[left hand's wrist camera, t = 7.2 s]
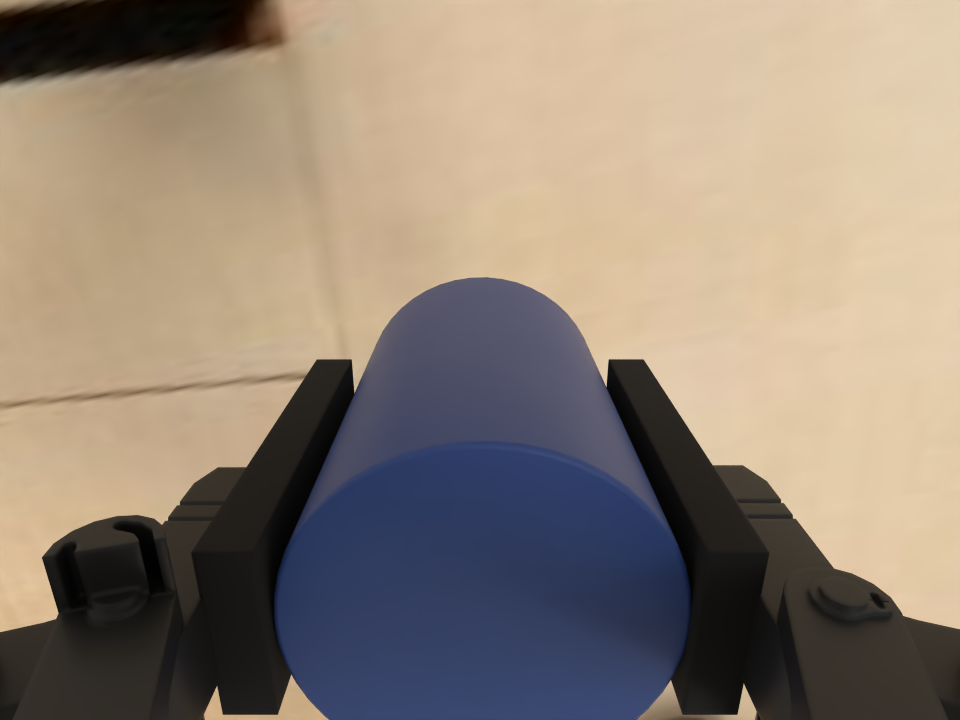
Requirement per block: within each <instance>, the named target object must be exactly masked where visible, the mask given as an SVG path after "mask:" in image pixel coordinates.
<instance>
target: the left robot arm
mask: <svg viewBox="0 0 960 720" xmlns="http://www.w3.org/2000/svg"><path fill="white" fill-rule="evenodd" d="M607 390H608V392H609V394H610V397H611V399H612V401H613V403H614V405H615V408H616V410H617V412H618V414H619V416H620V419H621V421H622V423H623V425H624V427H625V430H626V432H627V434H628V436H629V438H630V441H631V443H632V445H633V447H634V449H635V452H636V454H637V456H638V458H639V460H640V463H641V465H642V467H643V469H644V471H645V474H646V476H647V478H648V480H649V482H650V484H651V487H652V489H653V491H654V493H655V495H656V498H657V500H658V502H659V504H660V506H661V509H662V511H663V513H664V515H665V517H666V520H667V522H668V524H669V526H670V528H671V531H672V533H673V535H674V537H675V539H676V542H677V544H678V546H679V549H680V551H681V554H682V556H683V559H684V561H685V563H686V566H687V571H688V575H689V580H690V584H691V594H692V609H691V617H690V624H689V631H688V637H687V643H686V647H685V651H684V654H683V656H682V659H681V661H680V663H679V665H678V667H677V669H676V672H675V674H674V675H673V677H672V678H671V681H672V684H673V687H674V690H675V693H676V696H677V699H678V702H679V705H680V708H681V711H682V714H683V715H737V714H738V709H739V704H740V699H741V694H742V689H743V684H744V685H745V687H746V689H747V691H748V693H749V695H750V698H751V700H752V702H753V704H754V706H755V709H756V711H757V713H756V718H755V720H960V629H955V628H951V627H946V626H942V625H937V624H933V623H928V622H923V621H919V620H915V619H912V618H908V617H905V616H903V615H902V613H901V611H900V610H899V608H898V607H897V606H896V604H895V603H894V601H893V600H892V599H891V597H889V596H888V595H887V594H886V593H884V592H883V591H882V590H880V589H879V588H878V587H877V586H875V585H874V584H872V583H870V582H868V581H866V580H864V579H862V578H860V577H858V576H856V575H854V574H852V573H848V572H844V571H841V570H837V569H834V568H833V567H832V565H831V564H830V563H829V561H828V560H827V559H826V558H825V556H824V555H823V554H822V552H821V551H820V550H819V548H818V547H817V546H816V545H815V543H814V542H813V541H812V539H811V538H810V537H809V535H808V534H807V533H806V532H805V530H804V529H803V528H802V526H801V525H800V524H799V523H798V521H797V520H796V519H793V515H792V513H791V512H790V511H789V510H788V508H787V507H786V506H785V504H784V503H781V499H780V498H779V497H778V495H777V494H776V493H775V491H774V490H773V489H772V487H771V486H770V485H769V484H768V482H767V481H766V480H764V479H763V478H761V477H760V476H758V475H757V474H755V473H753V472H752V471H750V470H749V469H747V468H746V467H744V466H743V465H712V464H711V462H710V461H709V459H708V458H707V456H706V454H705V453H704V451H703V450H702V448H701V447H700V445H699V444H698V442H697V441H696V439H695V438H694V436H693V435H692V433H691V432H690V430H689V428H688V427H687V425H686V424H685V422H684V421H683V419H682V418H681V416H680V415H679V413H678V412H677V410H676V409H675V407H674V405H673V404H672V402H671V401H670V399H669V398H668V396H667V395H666V393H665V392H664V390H663V389H662V387H661V386H660V384H659V383H658V381H657V379H656V378H655V376H654V375H653V373H652V372H651V370H650V369H649V367H648V366H647V364H646V363H645V361H644V360H609V363H608V376H607ZM353 396H354V384H353V371H352V360H316V362H315V363H314V365H313V366H312V368H311V369H310V371H309V372H308V374H307V375H306V377H305V379H304V380H303V382H302V383H301V385H300V386H299V388H298V389H297V391H296V392H295V394H294V395H293V397H292V398H291V400H290V402H289V403H288V405H287V406H286V408H285V409H284V411H283V412H282V414H281V415H280V417H279V418H278V420H277V421H276V423H275V425H274V426H273V428H272V429H271V431H270V432H269V434H268V435H267V437H266V438H265V440H264V441H263V443H262V444H261V446H260V448H259V449H258V451H257V452H256V454H255V455H254V457H253V458H252V460H251V461H250V463H249V464H248V466H247V467H218V468H216V469H215V470H213V471H212V472H210V473H209V474H207V475H206V476H204V477H203V478H201V479H200V480H198V481H197V482H195V483H194V484H193V485H192V487H191V488H190V489H189V491H188V492H187V493H186V495H185V496H184V497H183V499H182V500H181V501H180V505H177V506H176V508H175V509H174V510H173V512H172V513H171V514H170V516H169V517H168V521H165V522H164V523H163V525H161V524H160V523H159V522H157V521H156V520H155V519H153V518H148V517H144V516H139V515H132V516H116V517H112V518H108V519H104V520H100V521H95V522H93V523H90V524H88V525H86V526H83V527H81V528H79V529H76V530H74V531H72V532H70V533H69V534H67V535H66V536H64V537H63V538H61V539H60V540H58V541H57V542H55V543H54V544H53V545H52V546H51V547H50V549H49V550H48V551H47V552H46V553H45V555H44V556H43V557H42V559H43V563H44V566H45V569H46V573H47V576H48V579H49V582H50V586H51V589H52V592H53V596H54V599H55V602H56V606H57V609H58V612H59V614H58V616H57V618H56V619H55V620H52V621H48V622H45V623H41V624H36V625H31V626H27V627H22V628H18V629H13V630H9V631H4V632H0V720H205V718H204V713H205V711H206V708H207V706H208V704H209V702H210V700H211V698H212V695H213V693H214V691H215V689H216V687H218V692H219V697H220V702H221V707H222V712H223V715H278V712H279V709H280V706H281V703H282V700H283V697H284V694H285V691H286V688H287V685H288V682H289V679H290V676H291V672H290V670H289V668H288V667H287V665H286V663H285V660H284V657H283V654H282V652H281V649H280V646H279V643H278V638H277V633H276V627H275V622H274V591H275V584H276V577H277V573H278V570H279V567H280V564H281V561H282V558H283V555H284V552H285V550H286V548H287V545H288V543H289V541H290V539H291V536H292V534H293V532H294V530H295V527H296V525H297V523H298V520H299V518H300V516H301V514H302V511H303V509H304V507H305V505H306V502H307V500H308V498H309V496H310V493H311V491H312V489H313V487H314V484H315V482H316V480H317V477H318V475H319V473H320V471H321V468H322V466H323V464H324V462H325V459H326V457H327V455H328V453H329V450H330V448H331V446H332V444H333V441H334V439H335V437H336V435H337V432H338V430H339V428H340V425H341V423H342V421H343V419H344V416H345V414H346V412H347V410H348V407H349V405H350V403H351V401H352V398H353Z"/></svg>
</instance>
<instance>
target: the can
mask: <svg viewBox="0 0 960 720" xmlns="http://www.w3.org/2000/svg"><path fill="white" fill-rule="evenodd" d="M691 609H692V594H691V584H690V580H689V575H688V571H687V566H686V563H685V561H684V559H683V556H682V554H681V551H680V549H679V546H678V544H677V542H676V539H675V537H674V535H673V533H672V531H671V528H670V526H669V524H668V522H667V520H666V517H665V515H664V513H663V511H662V509H661V506H660V504H659V502H658V500H657V498H656V495H655V493H654V491H653V489H652V487H651V484H650V482H649V480H648V478H647V476H646V474H645V471H644V469H643V467H642V465H641V463H640V460H639V458H638V456H637V454H636V452H635V449H634V447H633V445H632V443H631V441H630V438H629V436H628V434H627V432H626V430H625V427H624V425H623V423H622V421H621V419H620V416H619V414H618V412H617V410H616V408H615V405H614V403H613V401H612V399H611V397H610V394H609V392H608V390H607V388H606V386H605V383H604V381H603V379H602V377H601V375H600V372H599V370H598V368H597V366H596V364H595V361H594V359H593V357H592V355H591V353H590V350H589V348H588V346H587V344H586V342H585V339H584V337H583V336H582V334H581V332H580V331H579V329H578V327H577V325H576V324H575V323H574V322H573V320H572V319H571V318H570V317H569V315H568V314H567V313H566V312H565V311H564V310H563V309H562V308H561V307H559V306H558V305H557V304H556V303H555V302H553V301H552V300H551V299H549V298H548V297H546V296H545V295H543V294H541V293H540V292H538V291H536V290H534V289H532V288H530V287H527V286H524V285H522V284H519V283H516V282H512V281H508V280H503V279H496V278H467V279H460V280H454V281H451V282H448V283H444V284H441V285H438V286H436V287H434V288H432V289H429V290H427V291H425V292H423V293H422V294H420V295H419V296H417V297H415V298H414V299H412V300H411V301H410V302H409V303H407V304H406V305H405V306H404V307H402V308H401V309H400V310H399V311H398V313H397V314H396V315H395V316H394V317H393V318H392V319H391V320H390V322H389V323H388V325H387V326H386V327H385V329H384V330H383V332H382V334H381V336H380V338H379V340H378V342H377V344H376V346H375V349H374V351H373V353H372V355H371V358H370V360H369V362H368V364H367V367H366V369H365V371H364V373H363V376H362V378H361V380H360V382H359V385H358V387H357V389H356V392H355V394H354V396H353V398H352V401H351V403H350V405H349V407H348V410H347V412H346V414H345V416H344V419H343V421H342V423H341V425H340V428H339V430H338V432H337V435H336V437H335V439H334V441H333V444H332V446H331V448H330V450H329V453H328V455H327V457H326V459H325V462H324V464H323V466H322V468H321V471H320V473H319V475H318V477H317V480H316V482H315V484H314V487H313V489H312V491H311V493H310V496H309V498H308V500H307V502H306V505H305V507H304V509H303V511H302V514H301V516H300V518H299V520H298V523H297V525H296V527H295V530H294V532H293V534H292V536H291V539H290V541H289V543H288V545H287V548H286V550H285V552H284V555H283V558H282V561H281V564H280V567H279V570H278V573H277V577H276V584H275V591H274V622H275V627H276V633H277V638H278V643H279V646H280V649H281V652H282V654H283V657H284V660H285V663H286V665H287V667H288V668H289V670H290V672H291V674H292V676H293V678H294V680H295V681H296V683H297V684H298V686H299V687H300V688H301V690H302V691H303V693H304V694H305V695H306V697H307V698H308V699H309V700H310V701H311V702H312V704H313V705H314V706H315V707H316V708H317V709H318V710H319V711H320V712H321V713H322V714H323V715H324V716H325V717H326V718H328V719H329V720H636V719H637V718H639V717H640V716H641V715H642V714H643V713H644V712H645V711H646V710H647V709H648V708H649V707H650V706H651V705H652V704H653V703H654V701H655V700H656V699H657V698H658V697H659V696H660V695H661V693H662V692H663V691H664V689H665V688H666V686H667V685H668V683H669V682H670V680H671V678H672V677H673V675H674V674H675V672H676V669H677V667H678V665H679V663H680V661H681V659H682V656H683V654H684V651H685V647H686V643H687V637H688V631H689V624H690V617H691Z"/></svg>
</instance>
